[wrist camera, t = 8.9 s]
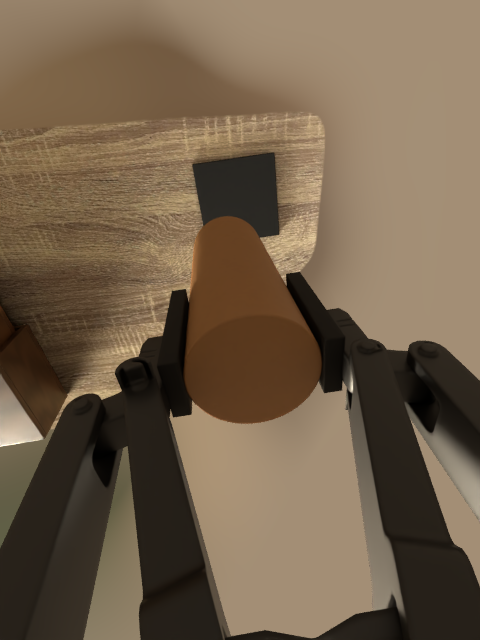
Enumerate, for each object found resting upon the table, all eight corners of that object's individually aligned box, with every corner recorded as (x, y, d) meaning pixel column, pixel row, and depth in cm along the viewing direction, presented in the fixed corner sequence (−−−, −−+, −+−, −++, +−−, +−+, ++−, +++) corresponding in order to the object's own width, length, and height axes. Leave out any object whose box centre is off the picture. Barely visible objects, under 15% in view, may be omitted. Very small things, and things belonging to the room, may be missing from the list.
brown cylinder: (187, 221, 25) (167, 327, 11) (257, 211, 25) (324, 303, 11) (200, 285, 28) (197, 433, 14) (263, 276, 28) (321, 413, 14)
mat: (192, 164, 38) (192, 164, 38) (273, 152, 38) (274, 152, 38) (206, 244, 43) (207, 245, 43) (278, 233, 43) (279, 234, 43)
